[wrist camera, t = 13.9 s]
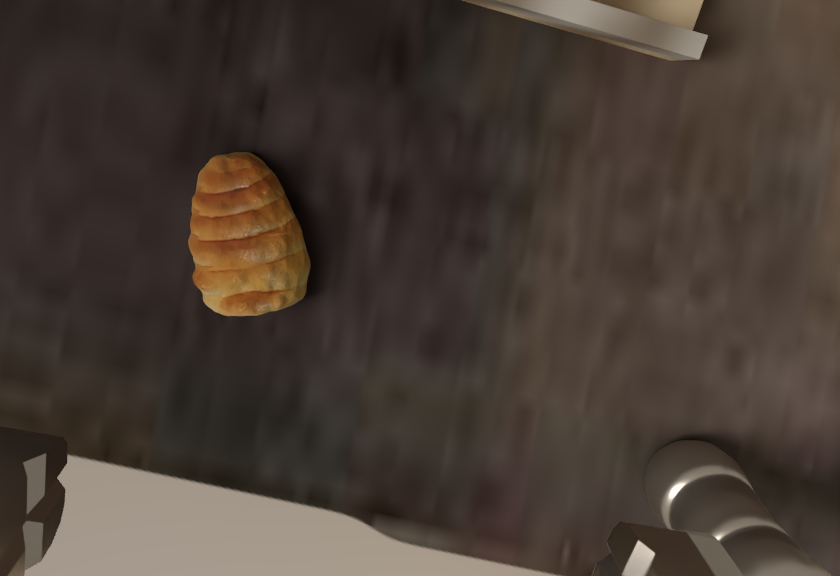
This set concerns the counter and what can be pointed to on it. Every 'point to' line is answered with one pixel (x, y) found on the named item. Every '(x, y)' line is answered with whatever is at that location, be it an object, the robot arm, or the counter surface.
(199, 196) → the pastry
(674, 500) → the plastic bottle
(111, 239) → the counter surface
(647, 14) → the birch board
